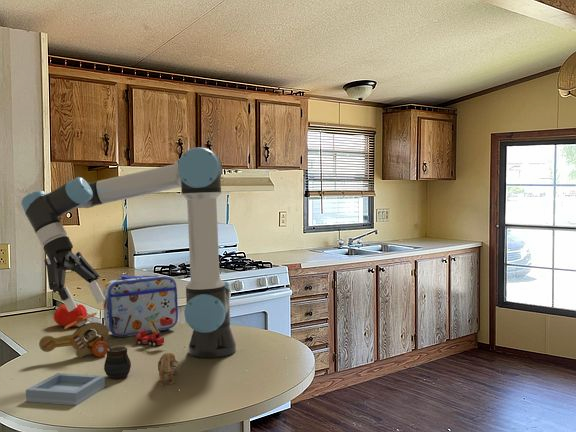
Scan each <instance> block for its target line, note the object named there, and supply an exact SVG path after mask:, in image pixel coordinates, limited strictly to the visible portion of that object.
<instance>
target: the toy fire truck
mask: <svg viewBox="0 0 576 432" xmlns="http://www.w3.org/2000/svg"><path fill="white" fill-rule="evenodd" d="M158 322H160V324H161V326H168V325H171V324H173V319H172V318H169V317H164V318H160V319H155V320H151V321H149V322H148V323H147V325H148V326H149V328H150V329H151V331H152V333H149V334H148V335H147V334H146V330H145V329H144V330H140V331H138V332H137V333H136V335H135V343H136V344H138V345H142V344H145V345H148V346H153V347H156V346H160V345H162V344H164V343H165V337H162V336H161V331H158V330H157V328H156V326H155V324H154V323H158Z"/></svg>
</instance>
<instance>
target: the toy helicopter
mask: <svg viewBox="0 0 576 432" xmlns="http://www.w3.org/2000/svg"><path fill="white" fill-rule="evenodd" d="M97 314H98V313H97V312H94V313H90V314H87V316H86V317H83V316H79V317H78V318H77V321H75V322H73V323H71V324H69V325H67V326H65V327H64V330H67V329H69V328H71V327H73V325H75V324H76V325H77V327H78V328H77V329H76V330H75V331H74V332H73V333H72V334H68V335H62V336H56V337H54V336H52V335H45V336H42V337H41V339H40V340H39V343H38V345H39V348H40V350H41V351H42V352H45V353H49V352H52V351H54V349H56V348H62V347H73V349H74V350H75V355H76V357H78V358H84V356H85V355H86V356H87V355H94V356H95V357H98V358H101V357H105V356H107V349H108V347H107V346H106V345H108V344H107V343H108V340H109V335H110V333H109V332H110V331H108V329H107V327H106V326H105V323H102V322H99V321H91V322H89V320H88V319H89V318H92V317H94V316H96V315H97Z"/></svg>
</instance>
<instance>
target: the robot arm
mask: <svg viewBox="0 0 576 432" xmlns="http://www.w3.org/2000/svg"><path fill="white" fill-rule="evenodd" d="M222 163H223V162H222V161H221V159H220V157H219V156H218V155H217V153H215V152H214V151H212V150H211V149H209V148H206V147H202V146H200V147H199V146H198V147H192V148H190V149H188V150H186V151H185V152H184V153H183V154H182V155H181V157H180V158H179V159H177V160H176V162H175V163H174V164H169V165H165V166H161V167H155V168H152V169H147V170H143V171H138V172H133V173H128V174H124V175H120V176H115V177H110V178H106V179H105V178H104V179H101V180H97V181H96V180H94V181H91V182H87V181H86V179H84V178H83V177H80V176H77V177H76V178H75V177H74V179H72V180H69V181H66V183H64V184H62V185H60V186H59V187H57V188H56V189H53V190H52V191H51V192H48V193H46V191H43V190H36V191H34V192H31V193H28V194H26V195H25V196H24V197H23V198H22V199H21V201H20V203H21V206H22V209H23V211H24V214H25V216H26V217H27V220H29V221H28V222H29V223H30V225H31V227H32V229H33V231H34V233H35V234H36V236H37V239H38V240H39V242H40V244H41V246H43V247H42V248H43V251H44V252H45V255H46V256H47V258H45V259H44V264H45V266H46V272H47V279H48V288H49V290H50V291H52V292H53V293H58V295H59V297H60V299H61V300H62V301H63V304H65V306H66V308H67V310H68V312H70V311H72V310H74V309H75V308H77V305H78V304H77V303H76V301H75V299H74V297H73V295H72V293H71V291H70V288H69V287H68V286H65V283H66V273H67V271H71V272H75V273H76V274H77V275H78V276H80V277H81V278H82V279H84V280H85V281H86V282H87V286H88V288H89V291H90V292H91V294H92V296H93V298H94V300H95V301H96V304H100V303H101V302H103V300H105V297H104V295H103V291H102V289H101V287H100V285H99V283H98V279H99V278H100V274H99V273H98V272H97V271H96V270H95V269H94V267H92V266H91V264H90V263H89V262H88V261H87V260H86V259H85V258H84V257H83V254H82V253H81V252H80V251H78V252H76V253H73V251H72V250H73V247H74V245H73V243H72V241H71V239H70V237H69V236H67V235H68V234H67V231H66V230H65V228H64V225H63V224H62V222H61V220H60V217H62V216H64V215H65V214H67V213H69V212H72V211H73V210H74V209H83V208H84V209H89V208H94V207H95V206H101V205H105V204H109V203H114V202H118V201H122V200H127V199H132V198H136V197H140V196H141V197H142V196H145V195H151V194H155V193H156V194H157V193H161V192H164V191H168V190H174V189H178V188H180V189H181V195H182V196H183V197H184V199H186V206H187V224H188V225H187V227H188V249H189V250H188V251H189V268H190V269H189V273H190V274H189V275H190V281H189V282H188V283H187V284H186V285H185V297H186V299H185V300H186V305H185V306H184V318H185V322H186V323H187V325H188V326H189V327H190V328H191V329H192V334H191V338H190V341H189V344H188V354H189V355H190V356H193V357H195V358H201V359H202V358H203V359H213V358H215V359H216V358H223V357H226V356H230V355H232V354H234V353H235V352H236V351H237V350H236V348H237V346H236V345H237V344H236V341H235V338H234V335H233V332H232V328H231V318H230V317H231V316H230V315H231V312H230V311H231V309H230V306H231V305H230V302H231V301H230V291H231V289H230V283H229V282H228V281H226V280H222V279H221V278H220V277H221V276H220V273H221V272H220V257H219V256H220V255H219V254H220V252H219V250H220V249H219V234H218V233H219V232H218V231H219V230H218V213H217V212H218V211H217V210H218V209H217V198H218V197H219V196H220V195H221V194H222V181H221V178H222V175H223V164H222ZM76 304H77V305H76Z"/></svg>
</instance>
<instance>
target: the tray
mask: <svg viewBox="0 0 576 432" xmlns="http://www.w3.org/2000/svg"><path fill="white" fill-rule="evenodd" d="M105 388H106V377H105V375H96V374H95V375H93V374H80V373H79V374H78V373H64V372H63V373H62V372H58V373H56V374H54V375H51V376H50V377H48V378H46V379H44V380H42V381H40V382H38V383H36V384H34V385H32V386H30V387H29V388H26V389H25V400H26V402H29V403H40V404H41V403H42V404H54V405H70V406H78V405H79V404H81V403H82V402H84V401H86V400H88V398H89V399H90V398H91V397H92V396H94V395H95V394H97V393H98V392H100V390H103V389H105Z"/></svg>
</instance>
